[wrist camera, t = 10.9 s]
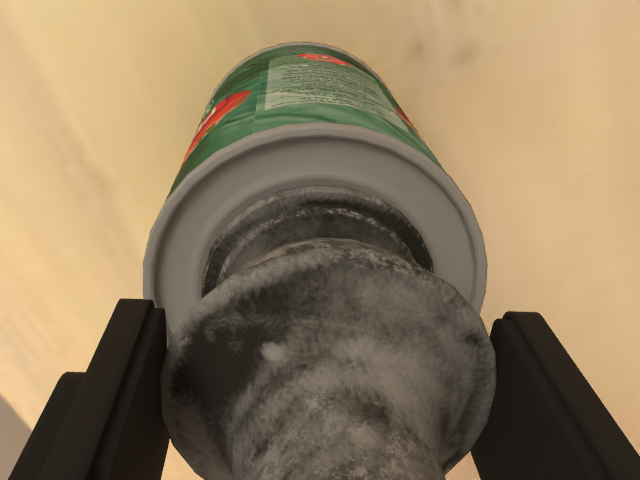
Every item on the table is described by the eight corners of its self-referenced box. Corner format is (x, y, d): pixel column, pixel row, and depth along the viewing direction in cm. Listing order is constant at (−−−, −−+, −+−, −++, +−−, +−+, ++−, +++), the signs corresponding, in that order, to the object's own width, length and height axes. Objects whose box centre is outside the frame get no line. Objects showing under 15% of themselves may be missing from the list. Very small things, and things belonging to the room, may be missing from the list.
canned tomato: (166, 82, 22) (73, 195, 12) (370, 10, 21) (446, 68, 11) (245, 259, 25) (222, 458, 16) (422, 203, 25) (515, 374, 15)
